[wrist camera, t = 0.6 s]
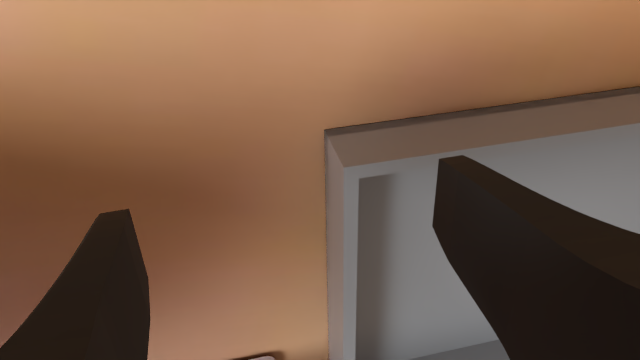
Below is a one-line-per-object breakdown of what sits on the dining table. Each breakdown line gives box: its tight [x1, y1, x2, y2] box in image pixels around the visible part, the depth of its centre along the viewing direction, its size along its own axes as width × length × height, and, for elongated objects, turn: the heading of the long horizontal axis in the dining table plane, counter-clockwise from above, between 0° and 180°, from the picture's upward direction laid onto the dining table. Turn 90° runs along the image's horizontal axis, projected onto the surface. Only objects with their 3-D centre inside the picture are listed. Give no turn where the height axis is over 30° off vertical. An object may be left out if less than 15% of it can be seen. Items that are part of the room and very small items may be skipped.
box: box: [324, 87, 640, 360], centre depth 29 cm, size 16×22×3 cm
